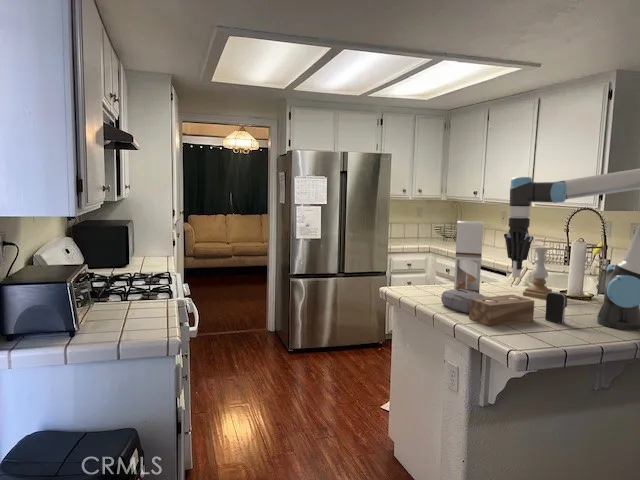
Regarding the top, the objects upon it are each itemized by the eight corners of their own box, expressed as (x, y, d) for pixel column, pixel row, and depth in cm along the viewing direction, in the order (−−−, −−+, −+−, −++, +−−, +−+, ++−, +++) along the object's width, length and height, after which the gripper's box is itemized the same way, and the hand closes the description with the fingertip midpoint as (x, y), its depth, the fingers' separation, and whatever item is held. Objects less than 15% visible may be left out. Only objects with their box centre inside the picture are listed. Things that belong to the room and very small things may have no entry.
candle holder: (530, 292, 239) (534, 244, 236) (554, 295, 232) (557, 246, 229) (522, 295, 231) (525, 246, 229) (545, 299, 224) (549, 248, 221)
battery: (566, 322, 187) (569, 293, 185) (561, 324, 184) (564, 294, 183) (549, 318, 192) (551, 290, 191) (544, 319, 190) (546, 291, 188)
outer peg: (497, 318, 185) (498, 302, 185) (488, 319, 184) (489, 302, 183) (489, 315, 189) (490, 299, 188) (481, 316, 187) (482, 300, 187)
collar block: (533, 320, 188) (534, 300, 187) (489, 326, 180) (490, 305, 179) (511, 313, 198) (513, 294, 197) (469, 318, 190) (470, 298, 189)
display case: (453, 296, 226) (457, 222, 222) (454, 292, 236) (458, 220, 232) (479, 299, 223) (483, 223, 219) (479, 294, 233) (483, 221, 229)
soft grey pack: (436, 305, 210) (469, 317, 193) (437, 286, 209) (470, 296, 192) (462, 302, 217) (496, 313, 199) (463, 284, 216) (498, 293, 198)
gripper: (540, 218, 182) (536, 279, 185) (513, 216, 194) (511, 273, 197) (525, 218, 179) (521, 281, 182) (499, 216, 191) (496, 275, 194)
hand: (516, 277), depth 189 cm, fingers closed
